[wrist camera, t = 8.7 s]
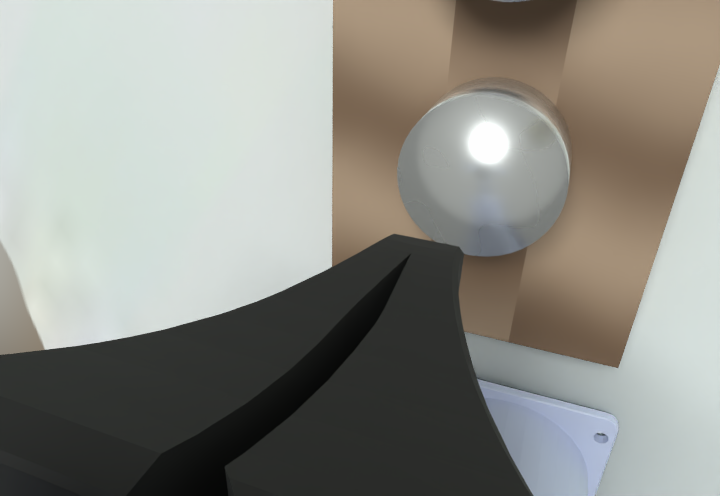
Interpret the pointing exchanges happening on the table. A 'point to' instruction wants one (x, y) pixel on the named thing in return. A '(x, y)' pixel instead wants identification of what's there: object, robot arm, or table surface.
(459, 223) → the button
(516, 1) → the button middle
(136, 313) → the table surface
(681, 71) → the button panel
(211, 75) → the table surface
